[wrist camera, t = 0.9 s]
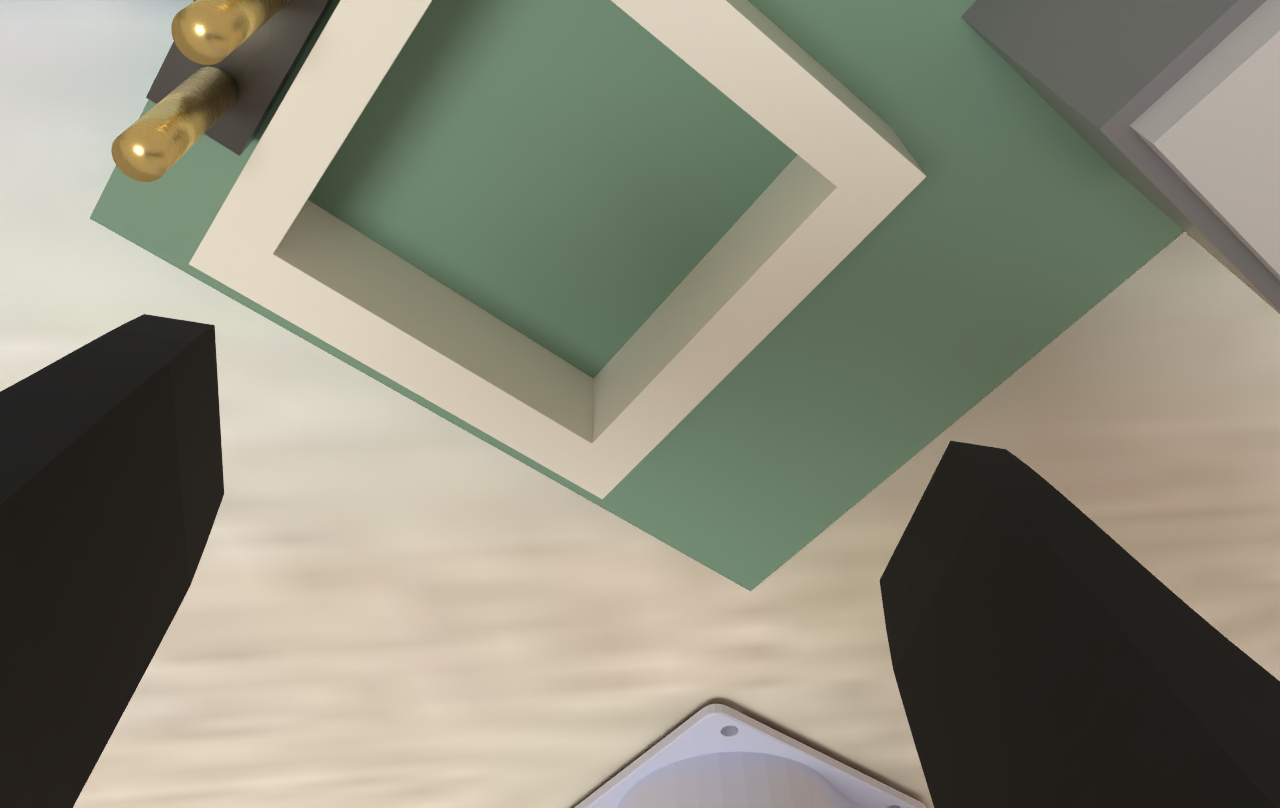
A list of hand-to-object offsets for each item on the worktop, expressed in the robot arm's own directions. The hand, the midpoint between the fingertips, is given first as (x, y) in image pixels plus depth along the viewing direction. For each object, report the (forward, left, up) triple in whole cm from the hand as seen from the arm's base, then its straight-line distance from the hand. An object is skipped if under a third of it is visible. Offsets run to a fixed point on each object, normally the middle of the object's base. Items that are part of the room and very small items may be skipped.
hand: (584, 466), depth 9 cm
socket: (0, +1, -9) cm, 9 cm away
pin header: (+6, +1, -9) cm, 11 cm away
